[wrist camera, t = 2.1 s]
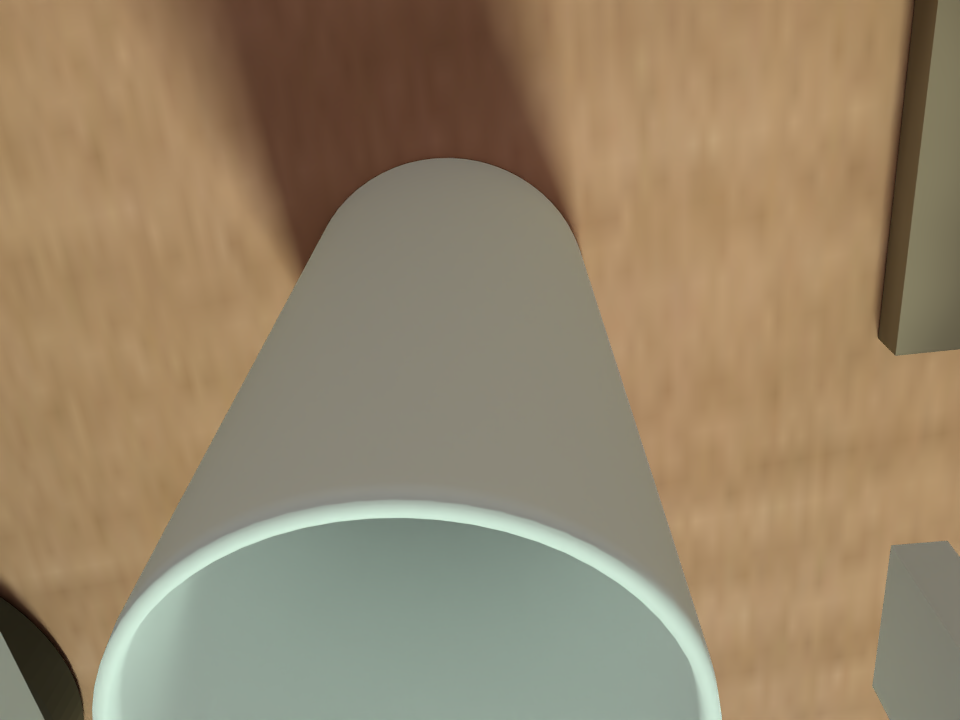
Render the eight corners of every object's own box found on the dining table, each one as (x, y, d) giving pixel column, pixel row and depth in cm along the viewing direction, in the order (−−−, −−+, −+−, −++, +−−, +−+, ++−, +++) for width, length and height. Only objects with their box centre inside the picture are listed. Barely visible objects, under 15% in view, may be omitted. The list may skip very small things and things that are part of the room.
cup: (335, 419, 27) (174, 951, 13) (290, 168, 23) (-4, 525, 9) (587, 402, 27) (710, 927, 13) (582, 146, 23) (747, 477, 9)
